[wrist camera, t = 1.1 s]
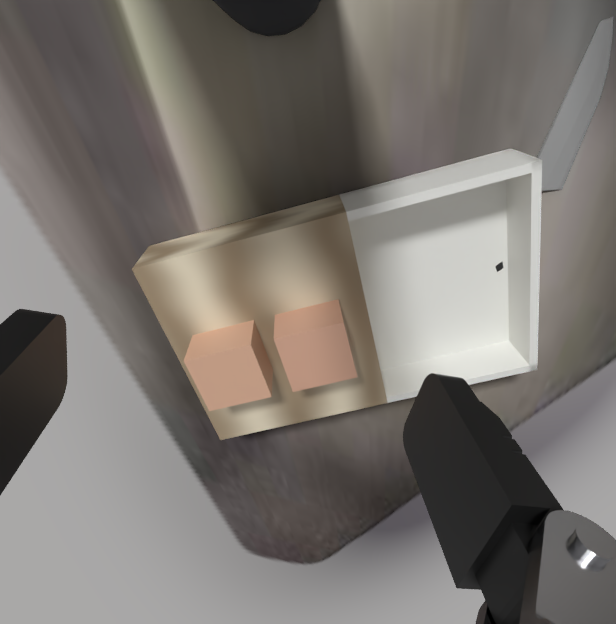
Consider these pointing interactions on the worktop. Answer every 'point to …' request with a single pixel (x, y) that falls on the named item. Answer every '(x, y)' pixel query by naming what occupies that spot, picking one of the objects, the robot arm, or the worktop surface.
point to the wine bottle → (269, 14)
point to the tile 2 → (314, 346)
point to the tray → (451, 270)
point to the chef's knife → (575, 111)
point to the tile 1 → (230, 366)
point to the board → (267, 303)
